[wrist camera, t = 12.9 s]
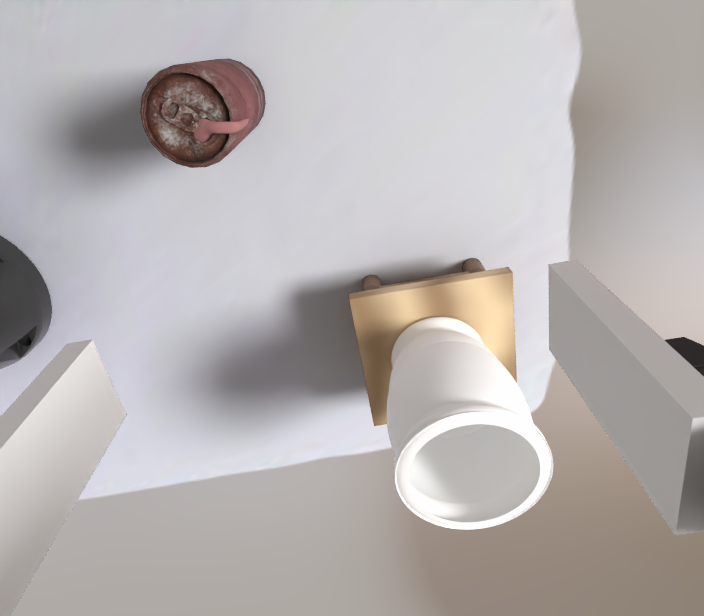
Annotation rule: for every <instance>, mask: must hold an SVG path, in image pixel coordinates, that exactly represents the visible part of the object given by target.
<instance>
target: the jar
mask: <svg viewBox="0 0 704 616" xmlns="http://www.w3.org/2000/svg"><path fill="white" fill-rule="evenodd" d="M391 362H392V368H393V369H392V372H391V377H390V384H389V393H388V399H387V426H388V433H389V438H390V442H391V445H392V449H393V452H394V455H395V461H394V478H395V483H396V487H397V490H398V493H399V495H400V497H401V499H402V500H403V502H404V503H405V504H406V505H407V507H408V508H409V509H411V511H413V512H414V513H415V514H416V515H418V516H419V517H421V518H422V519H424V520H426V521H428V522H431V523H433V524H436V525H439V526H443V527H447V528H453V529H481V528H487V527H492V526H495V525H499V524H502V523H505V522H507V521H509V520H512V519H513V518H516V517H517V516H519V515H521V514H522V513H524V512H525V511H527V510H528V509H529V508H531V507H532V506H533V505H534V504H535V503H536V502H537V501H538V500H539V499H540V498H541V497H542V495H543V494H544V492H545V491H546V489H547V487H548V485H549V483H550V480H551V478H552V473H553V457H552V453H551V450H550V447H549V445H548V443H547V442H546V440H545V438H544V436H543V435H542V433H541V432H540V430H539V429H538V428H537V427H536V426H535V425H534V424H533V421H532V417H531V414H530V411H529V408H528V405H527V403H526V400H525V398H524V396H523V394H522V392H521V390H520V388H519V386H518V385H517V383H516V381H515V380H514V378H513V377H512V376H511V374H510V373H509V372H508V370H507V369H506V368H505V367H504V366H503V365H502V363H501V362H500V361H499V360H498V359H497V358H496V357H495V355H494V354H493V353H492V352H491V351H490V350H489V349H488V348H487V347H486V346H485V345H483V342H482V340H481V338H480V336H479V335H478V333H477V332H476V331H475V330H474V329H473V328H472V327H470V326H469V325H468V324H466V323H464V322H462V321H460V320H457V319H454V318H449V317H433V318H428V319H424V320H421V321H419V322H416V323H414V324H413V325H411V326H410V327H408V328H407V329H406V330H405V331H404V332H403V333H402V334H401V335H400V336H399V337H398V339H397V341H396V342H395V344H394V347H393V350H392V356H391Z"/></svg>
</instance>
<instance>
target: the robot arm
mask: <svg viewBox="0 0 704 616" xmlns="http://www.w3.org/2000/svg"><path fill="white" fill-rule="evenodd" d="M51 313H52V307H51V300H50V295H49V292H48V289H47V286H46V284H45V282H44V280H43V278H42V276H41V274H40V273H39V271H38V270H37V268H36V267H35V266H34V264H33V263H32V262H31V261H30V260H29V258H28V257H27V256H26V255H25V254H24V253H23V252H22V251H20V250H19V249H18V248H17V247H16V246H14V245H13V244H12V243H10V242H9V241H8V240H6V239H5V238H3V237H1V236H0V369H1V368H4V367H6V366H9V365H11V364H13V363H15V362H17V361H19V360H20V359H22V358H23V357H25V356H26V355H27V354H28V353H29V352H30V351H31V350H32V349H33V348H34V347H35V346H36V345H37V344H38V343H39V342H40V341H41V340H42V339H43V337H44V336H45V334H46V332H47V330H48V328H49V325H50V321H51ZM549 350H550V351H551V353H552V354H553V356H554V357H555V358H556V360H557V361H558V363H559V364H560V366H561V367H562V369H563V370H564V372H565V373H566V375H567V376H568V378H569V379H570V381H571V382H572V384H573V385H574V386H575V388H576V389H577V391H578V392H579V394H580V395H581V397H582V398H583V400H584V401H585V403H586V404H587V406H588V407H589V409H590V410H591V412H592V413H593V414H594V416H595V417H596V419H597V420H598V422H599V423H600V425H601V426H602V428H603V429H604V431H605V432H606V434H607V435H608V437H609V438H610V439H611V441H612V443H613V444H614V445H615V447H616V448H617V450H618V451H619V453H620V454H621V456H622V457H623V459H624V460H625V462H626V463H627V465H628V466H629V468H630V469H631V471H632V472H633V473H634V475H635V476H636V478H637V479H638V481H639V482H640V484H641V485H642V487H643V488H644V490H645V491H646V493H647V494H648V496H649V497H650V499H651V500H652V501H653V503H654V504H655V506H656V507H657V509H658V510H659V512H660V513H661V515H662V516H663V518H664V519H665V521H666V522H667V524H668V525H669V527H670V528H671V530H672V531H673V533H674V534H675V535H681V534H689V533H696V532H704V346H703V345H701V344H699V343H697V342H694V341H692V340H690V339H687V338H685V337H681V338H674V339H668V340H663V339H662V338H661V337H660V336H659V335H658V334H657V333H656V332H655V331H654V330H652V328H650V327H649V326H648V325H647V324H646V323H645V322H644V321H643V320H642V319H641V318H640V317H639V316H637V315H636V314H635V313H634V312H633V311H632V310H631V309H630V308H629V307H628V306H627V305H625V304H624V303H623V302H622V301H621V300H620V299H619V298H618V297H617V296H616V295H615V294H614V293H612V292H611V291H610V290H609V289H608V288H607V287H606V286H605V285H604V284H603V283H602V282H601V281H599V280H598V279H597V278H596V277H595V276H594V275H593V274H592V273H591V272H589V270H588V269H586V268H585V267H584V266H583V265H582V264H581V263H580V262H579V261H578V260H572V261H566V262H560V263H554V264H549ZM126 415H127V414H126V412H125V410H124V408H123V405H122V403H121V401H120V399H119V397H118V395H117V392H116V390H115V388H114V386H113V384H112V381H111V379H110V377H109V375H108V373H107V371H106V368H105V366H104V364H103V362H102V360H101V358H100V355H99V353H98V351H97V349H96V347H95V345H94V342H93V340H87V341H81V342H75V343H69V344H67V345H66V346H65V347H64V348H63V349H62V350H61V351H60V352H59V353H58V354H57V356H56V357H55V358H54V359H53V360H52V361H51V362H50V363H49V364H48V365H47V366H46V368H45V369H44V370H43V371H42V372H41V373H40V374H39V375H38V376H37V377H36V379H35V380H34V381H33V382H32V383H31V384H30V385H29V386H28V387H27V388H26V390H25V391H24V392H23V393H22V394H21V395H20V396H19V397H18V398H17V399H16V401H15V402H14V403H13V404H12V405H11V406H10V407H9V408H8V409H7V410H6V412H5V413H4V414H3V415H2V416H1V417H0V616H11V614H12V613H13V611H14V609H15V607H16V606H17V604H18V602H19V600H20V599H21V597H22V595H23V593H24V592H25V590H26V588H27V587H28V585H29V583H30V581H31V580H32V578H33V576H34V574H35V573H36V571H37V569H38V567H39V566H40V564H41V562H42V561H43V559H44V557H45V555H46V553H47V552H48V550H49V548H50V547H51V545H52V543H53V542H54V540H55V538H56V536H57V534H58V533H59V531H60V529H61V528H62V526H63V524H64V522H65V521H66V519H67V517H68V516H69V514H70V512H71V510H72V509H73V507H74V505H75V503H76V502H77V500H78V498H79V497H80V495H81V493H82V491H83V490H84V488H85V486H86V484H87V483H88V481H89V479H90V477H91V476H92V474H93V472H94V471H95V469H96V467H97V465H98V464H99V462H100V460H101V458H102V457H103V455H104V453H105V451H106V450H107V448H108V446H109V445H110V443H111V441H112V439H113V438H114V436H115V434H116V432H117V431H118V429H119V427H120V425H121V424H122V422H123V420H124V419H125V417H126Z"/></svg>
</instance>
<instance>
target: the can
mask: <svg viewBox="0 0 704 616" xmlns="http://www.w3.org/2000/svg"><path fill="white" fill-rule="evenodd" d="M264 109H265V95H264V90H263V87H262V85H261V83H260V80H259V79H258V77H257V76H256V75H255V74H254V72H253V71H252V70H251V69H250V68H248V67H247V66H245V65H244V64H242V63H241V62H238V61H235V60H231V59H216V60H208V61H201V62H194V63H186V64H179V65H173V66H170V67H168V68H166V69H163V70H161V71H159V72H158V73H157V74H156V75H155V76H154V77H153V78H152V79H151V80H150V81H149V82H148V84H147V86H146V88H145V91H144V93H143V95H142V100H141V111H140V113H141V118H142V122H143V127H144V130H145V132H146V134H147V136H148V137H149V139H150V141H151V143H152V144H153V145H154V146H155V147H156V148H157V150H158V151H159V152H160V153H161V154H162V155H163V156H165V157H167V158H168V159H170V160H171V161H173V162H175V163H176V164H180V165H184V166H187V167H191V168H194V167H207V166H210V165H212V164H215V163H218V162H220V161H221V160H222V159H223V158H224V157H225V156H227V155H228V154H229V153H230V152H231V151H232V150H233V149H234V148H235V147H236V146H237V145H238V144H239V143H240V142H241V141H242V140H243V139H244V138H245V137H246V136H247V135H248V134H249V133H250V132H251V131H252V130H253V129H254V128H255V127H256V126H257V125H258V124H259V122H260V120H261V118H262V117H263V114H264Z"/></svg>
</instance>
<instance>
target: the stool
mask: <svg viewBox="0 0 704 616" xmlns="http://www.w3.org/2000/svg"><path fill="white" fill-rule="evenodd" d="M463 270H464V272H460V273H454V274H448V275H442V276H436V277H430V278H424V279H418V280H412V281H406V282H400V283H394V284H388V285H382V286H381V281H380V279H379V278H378V277H377V276H375V275H369V276H367V277H365V278H364V280H363V291H361V292H355V293H349V300H350V306H351V311H352V316H353V321H354V326H355V331H356V336H357V341H358V346H359V351H360V356H361V362H362V367H363V372H364V377H365V382H366V387H367V392H368V397H369V402H370V407H371V412H372V418H373V423H374V426H377V425H384V424H387V399H388V393H389V384H390V377H391V372H392V369H393V368H392V362H391V356H392V350H393V347H394V344H395V342H396V341H397V339H398V337H399V336H400V335H401V334H402V333H403V332H404V331H405V330H406V329H407V328H408V327H410V326H411V325H413V324H414V323H416V322H419V321H421V320H424V319H428V318H433V317H449V318H454V319H457V320H460V321H462V322H464V323H466V324H468V325H469V326H470V327H472V328H473V329H474V330H475V331H476V332H477V333H478V335H479V336H480V338H481V340H482V342H483V345H485V346H486V347H487V348H488V349H489V350H490V351H491V352H492V353H493V354H494V355H495V357H496V358H497V359H498V360H499V361H500V362H501V363H502V365H503V366H504V367H505V368H506V369H507V370H508V372H509V373H510V374H511V376H512V377H513V378H514V380H515V381H516V383H517V376H516V351H515V326H514V300H513V275H512V271H511V270H510V269H509V267H506V268H500V269H494V270H488V271H486V270H485V269H484V267H483V265H482V264H481V262H480V261H479V260H478V259H476V258H470V259H468V260H466V261H465V263H464V264H463Z"/></svg>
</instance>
